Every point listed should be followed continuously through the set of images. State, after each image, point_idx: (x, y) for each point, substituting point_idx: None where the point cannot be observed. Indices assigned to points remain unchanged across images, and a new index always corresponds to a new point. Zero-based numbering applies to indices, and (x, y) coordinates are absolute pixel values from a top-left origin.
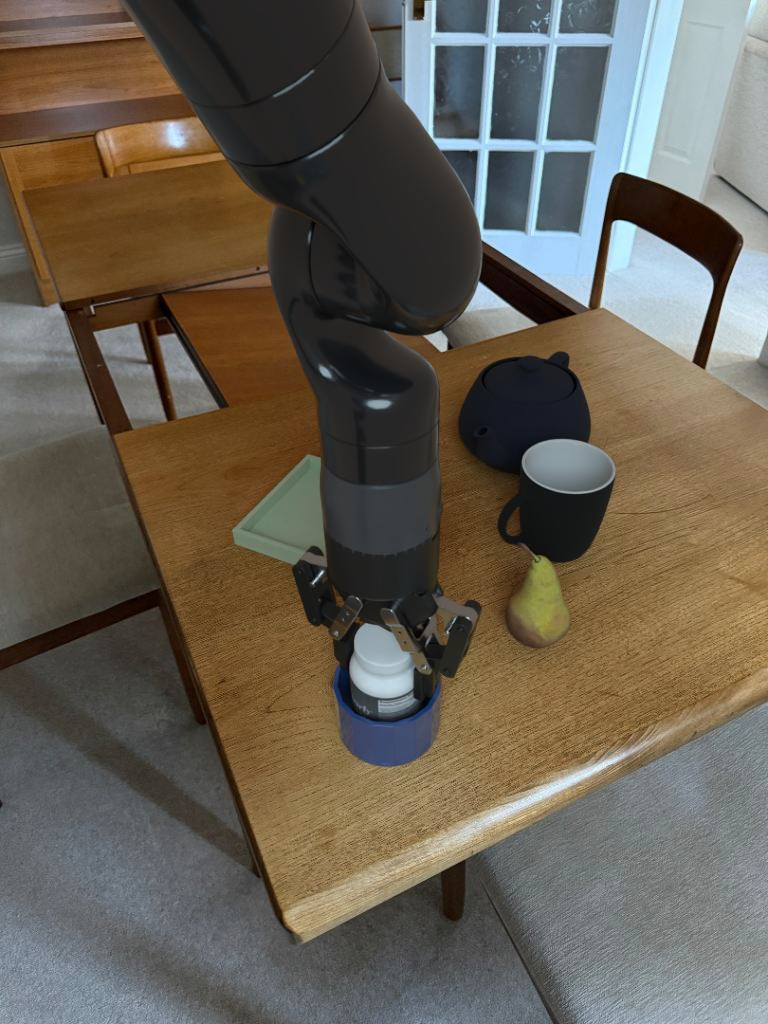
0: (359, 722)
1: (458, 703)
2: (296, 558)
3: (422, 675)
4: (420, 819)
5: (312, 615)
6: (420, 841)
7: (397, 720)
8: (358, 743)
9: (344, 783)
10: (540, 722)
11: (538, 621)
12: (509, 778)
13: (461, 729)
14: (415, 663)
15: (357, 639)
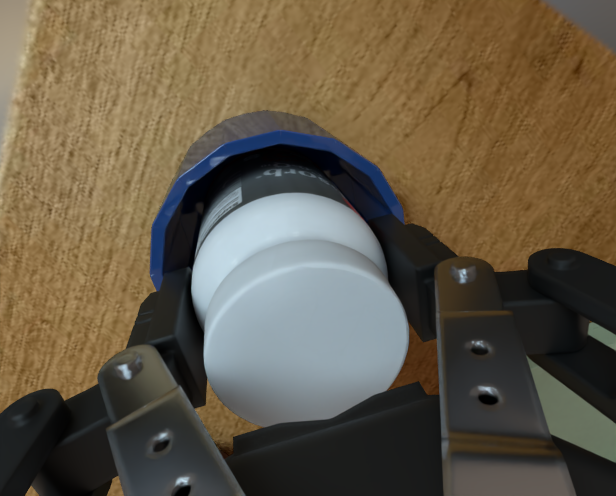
0: (257, 133)
1: None
2: (596, 336)
3: (148, 336)
4: (70, 87)
5: (584, 274)
6: (30, 46)
7: (208, 205)
8: (259, 118)
9: (242, 48)
10: (72, 367)
11: None
12: (23, 261)
13: None
14: (157, 363)
15: (387, 303)
